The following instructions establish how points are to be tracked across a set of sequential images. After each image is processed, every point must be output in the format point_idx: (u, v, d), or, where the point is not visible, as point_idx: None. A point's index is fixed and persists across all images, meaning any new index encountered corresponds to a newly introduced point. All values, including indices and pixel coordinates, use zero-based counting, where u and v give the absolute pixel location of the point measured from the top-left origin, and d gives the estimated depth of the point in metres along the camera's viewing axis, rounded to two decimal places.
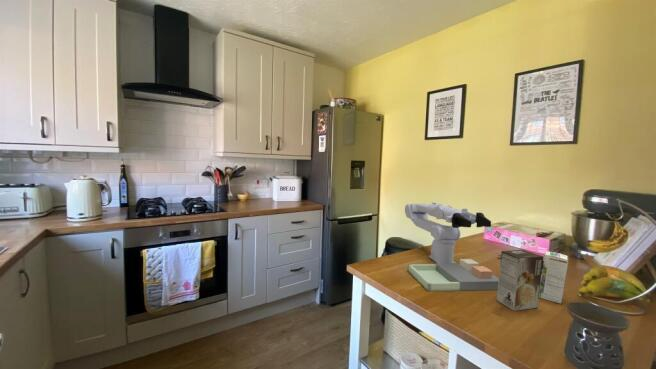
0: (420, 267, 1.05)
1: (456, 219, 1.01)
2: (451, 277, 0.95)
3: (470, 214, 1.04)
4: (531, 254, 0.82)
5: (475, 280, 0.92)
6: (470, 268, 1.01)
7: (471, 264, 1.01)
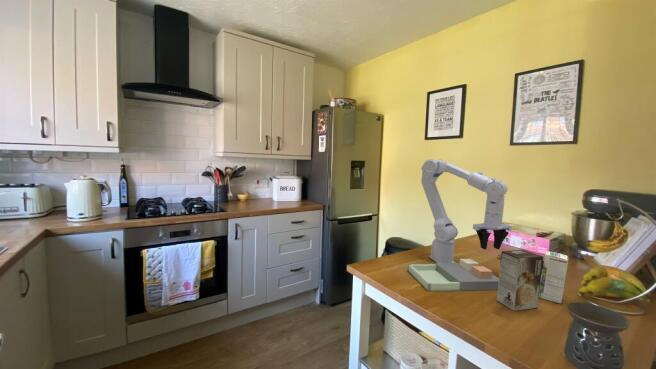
0: (420, 267, 1.05)
1: None
2: (451, 277, 0.95)
3: None
4: (531, 254, 0.82)
5: (475, 280, 0.92)
6: (470, 268, 1.01)
7: (471, 264, 1.01)
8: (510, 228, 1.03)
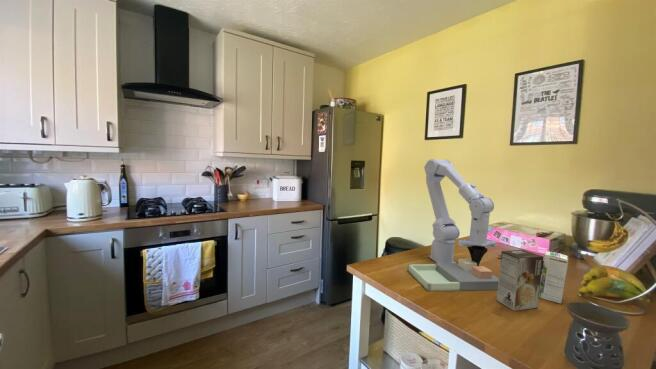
0: (420, 267, 1.05)
1: None
2: (451, 277, 0.95)
3: None
4: (531, 254, 0.82)
5: (475, 280, 0.92)
6: (468, 268, 1.01)
7: (469, 264, 1.01)
8: (495, 244, 1.03)
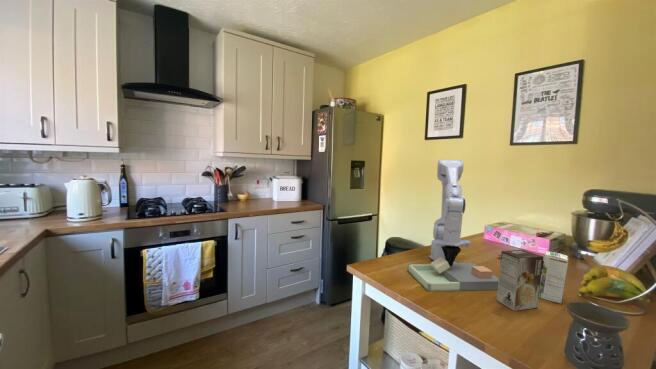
0: (420, 267, 1.05)
1: None
2: (451, 277, 0.95)
3: None
4: (531, 254, 0.82)
5: (475, 280, 0.92)
6: (442, 270, 0.99)
7: (441, 267, 0.99)
8: (469, 244, 1.01)
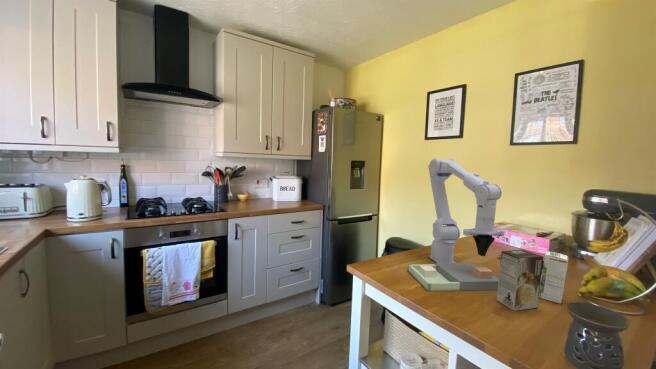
0: None
1: None
2: (451, 277, 0.95)
3: None
4: (531, 254, 0.82)
5: (475, 280, 0.92)
6: (433, 272, 0.99)
7: (432, 275, 0.99)
8: (503, 234, 0.97)
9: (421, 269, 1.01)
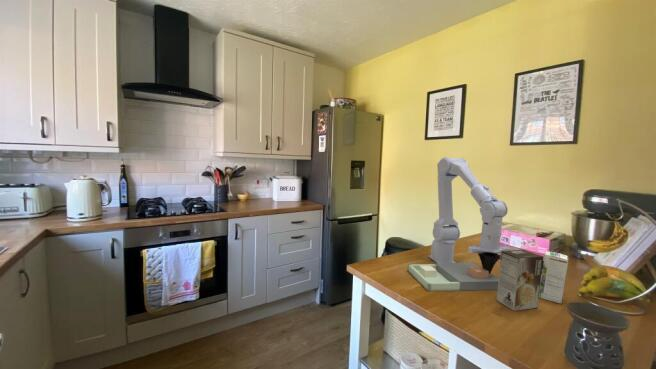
0: None
1: None
2: (451, 277, 0.95)
3: None
4: (531, 254, 0.82)
5: (475, 280, 0.92)
6: (433, 272, 0.99)
7: (432, 275, 0.99)
8: None
9: (421, 269, 1.01)
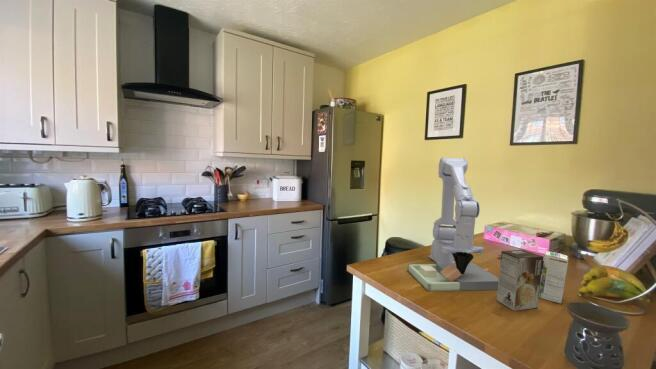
0: None
1: None
2: None
3: None
4: (531, 254, 0.82)
5: (475, 280, 0.92)
6: (433, 272, 0.99)
7: (432, 275, 0.99)
8: (482, 251, 0.94)
9: (421, 269, 1.01)
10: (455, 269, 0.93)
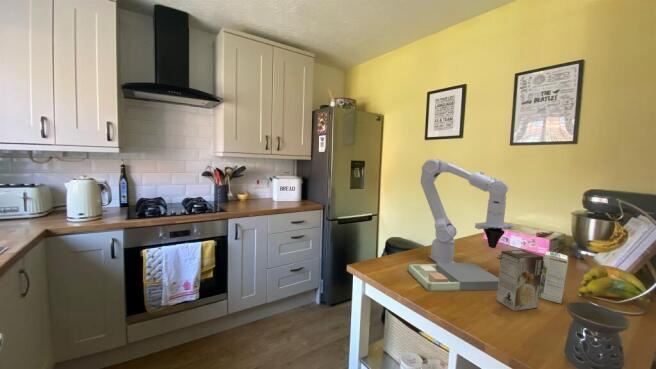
0: None
1: None
2: (451, 277, 0.95)
3: None
4: (531, 254, 0.82)
5: (475, 280, 0.92)
6: (433, 272, 0.99)
7: None
8: (512, 227, 1.05)
9: (421, 269, 1.01)
10: None
